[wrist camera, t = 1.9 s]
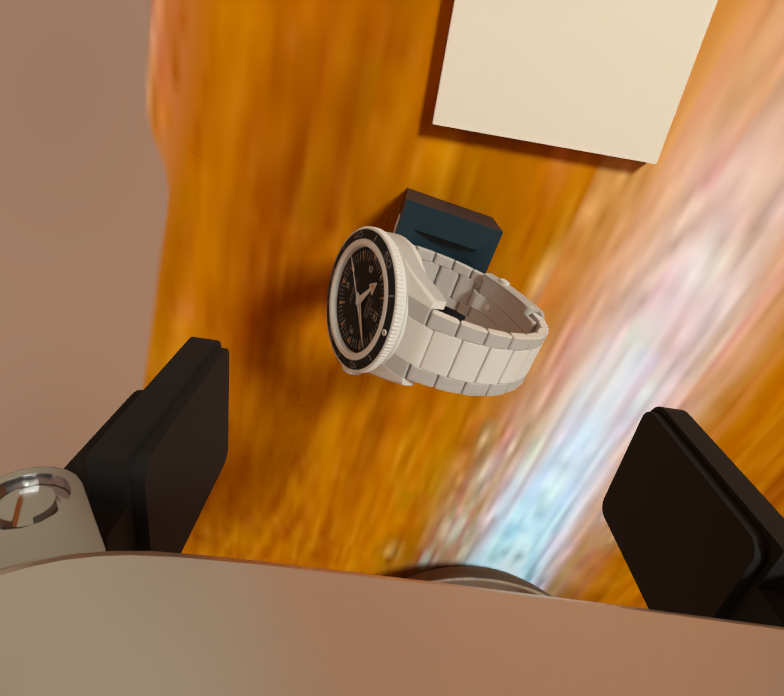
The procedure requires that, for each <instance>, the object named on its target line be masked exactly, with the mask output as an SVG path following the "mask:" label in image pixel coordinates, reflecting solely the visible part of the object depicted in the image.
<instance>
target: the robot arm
mask: <svg viewBox="0 0 784 696" xmlns="http://www.w3.org/2000/svg"><path fill="white" fill-rule="evenodd" d="M228 404H229V351H228V349H226V348H221V344H220V342H219V341H217V340H211V339H204V338H197V337H191V338H190V339H189V340H188V341H187V342H186V343H185V344H184V345H183V346H182V347H181V349H180V350H179V351H178V352H177V353H176V354H175V355H174V356H173V358H172V359H171V360H170V361H169V362H168V363H167V364H166V365H165V367H164V368H163V369H162V370H161V371H160V372H159V373H158V374H157V376H156V377H155V378H154V379H153V380H152V381H151V382H150V383H149V385H148V386H147V387H146V388H145V389H144V390H138V391H136V392H134V393H133V394H132V395H131V396H130V397H129V398H128V399H127V400H126V401H125V402H124V403H123V404H122V406H121V407H120V408H119V409H118V410H117V411H116V412H115V413H114V414H113V415H112V416H111V418H110V419H109V420H108V421H107V422H106V423H105V424H104V425H103V426H102V427H101V428H100V430H99V431H98V432H97V433H96V434H95V435H94V436H93V437H92V438H91V439H90V440H89V442H88V443H87V444H86V445H85V446H84V447H83V448H82V449H81V450H80V451H79V452H78V454H77V455H76V456H75V457H74V458H73V459H72V460H71V461H70V462H69V463H68V464H67V466H66V467H65V468H64V469H62V468H57V467H33V468H28V469H23V470H18V471H15V472H12V473H10V474H7V475H4V476H1V477H0V696H784V518H783V517H782V516H781V515H780V514H779V513H778V511H777V510H776V509H775V508H774V507H773V506H772V505H771V504H770V503H769V502H768V500H767V499H766V498H765V497H764V496H763V495H762V494H761V493H760V492H759V491H758V489H757V488H756V487H755V486H754V485H753V484H752V483H751V482H750V481H749V480H748V479H747V477H746V476H745V475H744V474H743V473H742V472H741V471H740V470H739V469H738V468H737V466H736V465H735V464H734V463H733V462H732V461H731V460H730V459H729V458H728V457H727V456H726V454H725V453H724V452H723V451H722V450H721V449H720V448H719V447H718V446H717V445H716V443H715V442H714V441H713V440H712V439H711V438H710V437H709V436H708V435H707V434H706V433H705V431H704V430H703V429H702V428H701V427H700V426H699V425H698V424H697V423H696V422H695V420H694V419H693V418H692V417H691V416H690V415H689V414H688V413H687V412H686V411H684V410H678V409H671V408H665V407H655V408H654V409H653V410H651V412H646V413H645V414H644V415H643V417H642V419H641V421H640V423H639V425H638V427H637V429H636V432H635V434H634V436H633V438H632V440H631V442H630V444H629V446H628V449H627V451H626V453H625V455H624V457H623V459H622V461H621V464H620V466H619V468H618V470H617V472H616V474H615V476H614V478H613V481H612V483H611V485H610V487H609V489H608V491H607V493H606V495H605V498H604V500H603V505H602V510H603V515H604V518H605V520H606V522H607V524H608V526H609V528H610V530H611V532H612V534H613V536H614V538H615V540H616V542H617V544H618V546H619V548H620V551H621V553H622V555H623V557H624V559H625V561H626V563H627V565H628V567H629V569H630V571H631V573H632V575H633V577H634V579H635V581H636V584H637V586H638V588H639V590H640V592H641V594H642V596H643V598H644V600H645V602H646V604H647V606H648V608H649V609H643V608H635V607H628V606H620V605H612V604H605V603H597V602H590V601H582V600H574V599H566V598H558V597H550V596H542V595H535V594H527V593H519V592H511V591H503V590H495V589H487V588H479V587H471V586H463V585H455V584H447V583H439V582H431V581H423V580H414V579H406V578H398V577H389V576H381V575H373V574H364V573H356V572H348V571H339V570H331V569H323V568H314V567H306V566H297V565H289V564H281V563H272V562H264V561H255V560H247V559H238V558H229V557H218V556H206V555H194V554H182V553H181V552H182V550H183V548H184V546H185V544H186V541H187V539H188V537H189V535H190V533H191V531H192V529H193V527H194V525H195V523H196V521H197V519H198V517H199V515H200V513H201V511H202V509H203V507H204V505H205V502H206V500H207V498H208V496H209V494H210V492H211V490H212V488H213V486H214V484H215V482H216V480H217V478H218V476H219V474H220V472H221V470H222V468H223V466H224V463H225V460H226V457H227V451H228Z"/></svg>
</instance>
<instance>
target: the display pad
mask: <svg viewBox="0 0 784 696" xmlns="http://www.w3.org/2000/svg"><path fill="white" fill-rule="evenodd" d="M717 1H718V0H454V4H453V9H452V15H451V20H450V26H449V31H448V37H447V43H446V48H445V54H444V59H443V65H442V70H441V76H440V82H439V87H438V93H437V98H436V104H435V109H434V115H433V121H432V124H434V125H440V126H445V127H451V128H457V129H462V130H468V131H473V132H479V133H485V134H490V135H496V136H501V137H507V138H513V139H518V140H524V141H529V142H535V143H541V144H546V145H552V146H557V147H563V148H569V149H574V150H580V151H585V152H591V153H596V154H602V155H608V156H613V157H619V158H624V159H630V160H636V161H641V162H647V163H652V164H656V163H657V161H658V158H659V155H660V153H661V150H662V147H663V145H664V142H665V139H666V137H667V134H668V131H669V129H670V126H671V123H672V121H673V118H674V115H675V113H676V110H677V107H678V105H679V102H680V99H681V97H682V94H683V91H684V89H685V86H686V83H687V81H688V78H689V75H690V73H691V70H692V67H693V65H694V62H695V59H696V57H697V54H698V51H699V49H700V46H701V43H702V41H703V38H704V35H705V33H706V30H707V28H708V25H709V22H710V20H711V17H712V14H713V12H714V9H715V6H716V4H717Z"/></svg>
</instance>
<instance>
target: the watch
mask: <svg viewBox="0 0 784 696" xmlns="http://www.w3.org/2000/svg"><path fill="white" fill-rule="evenodd" d="M502 233H503V232H502V230H501V229H500V227H499V226H498V225H497V223H496V222H495V221H494V219H493V218H492V217H489V216H486V215H484V214H481V213H478V212H475V211H472V210H469V209H466V208H463V207H460V206H458V205H455V204H452V203H449V202H446V201H443V200H440V199H437V198H435V197H432V196H429V195H426V194H423V193H420V192H417V191H414V190H411V189H409V188H407V191H406V194H405V197H404V200H403V203H402V206H401V209H400V212H399V215H398V218H397V221H396V224H395V227H394V231H393V233H390V232H385V231H384V230H382V229H380V228H376V227H371V226H365V227H361V228H359V229H357V230H356V231H354V233H352V234H351V235H350V236H349V237H348V238H347V240H346V241H345V242H344V244H343V245H342V247H341V249H340V251H339V253H338V255H337V258H336V260H335V263H334V266H333V269H332V273H331V277H330V282H329V287H328V295H327V324H328V332H329V337H330V341H331V345H332V348H333V350H334V353H335V355H336V357H337V359H338V360H339V361H340V363H341V364H342V368H343V370H344V371H345V372H346V373H349V374H352V375H359V374H361V373H366V372H368V373H370V374H373V375H376V376H378V377H381V378H383V379H386V380H389V381H392V382H395V383H398V384H401V385H404V386H413V384H414V382H417V383H420V384H423V385H427V386H430V387H433V385H434V388H436V389H439V390H443V391H448V392H453V393H461V394H463V395H471V396H484V395H486V396H495V395H501V394H504V393H505V392H506V393H507V392H510V391H512V390H514V389H516V388H518V386H520V385H521V384H522V383H523V381H524V379H525V377H526V375H527V373H528V371H529V369H530V367H531V365H532V364H533V362H534V360H535V358H536V356H537V354H538V352H539V350H540V348H541V346H542V344H543V342H544V340H545V338H546V336H547V335H548V330H549V328H548V325H547V324H546V322H545V320H544V316H545V315H544V313H543V312H542V311H541V310H540V309H539V308H538V307H537V306H536V305H535V304H534V303H532V302H531V301H530V300H529V299H528V298H526V297H525V296H524V295H523V294H521V293H520V292H519V291H517V290H516V289H514V288H513V287H512V286H510V285H509V284H510V283H509V282H508V281H507V280H505V279H503V278H498V277H496V276H495V275H493V274H492V273H486V271H487V269H488V266H489V264H490V262H491V259H492V257H493V255H494V252H495V250H496V248H497V245H498V243H499V240H500V238H501V236H502ZM437 376H438V377H437ZM436 378H437V379H436ZM434 383H435V384H434Z"/></svg>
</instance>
